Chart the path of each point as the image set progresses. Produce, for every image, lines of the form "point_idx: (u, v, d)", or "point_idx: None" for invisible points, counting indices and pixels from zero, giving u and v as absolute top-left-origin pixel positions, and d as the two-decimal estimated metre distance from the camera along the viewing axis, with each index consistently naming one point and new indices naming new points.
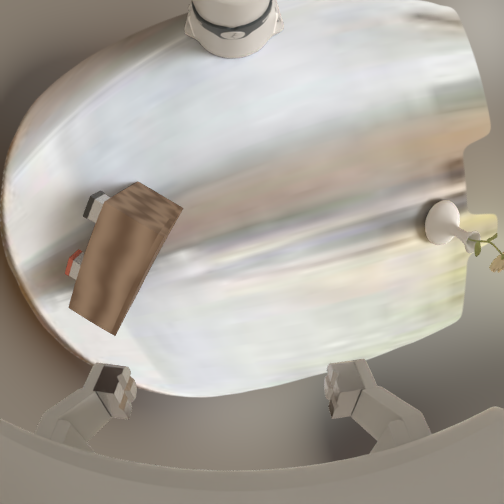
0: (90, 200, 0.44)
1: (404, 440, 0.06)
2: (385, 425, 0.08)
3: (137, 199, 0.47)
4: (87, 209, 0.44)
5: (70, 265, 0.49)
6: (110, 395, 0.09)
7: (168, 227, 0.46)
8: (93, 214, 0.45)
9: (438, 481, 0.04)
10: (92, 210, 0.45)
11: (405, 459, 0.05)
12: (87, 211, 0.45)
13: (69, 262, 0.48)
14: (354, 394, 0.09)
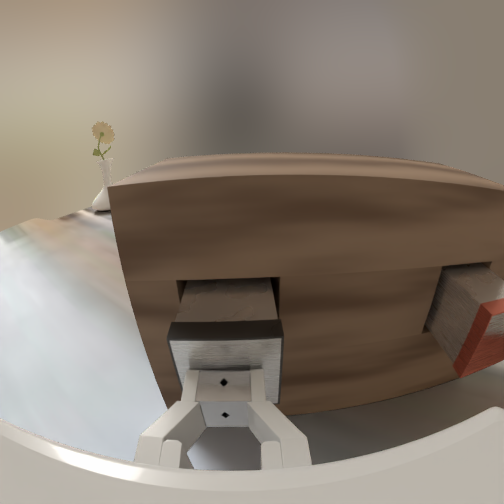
0: (186, 333, 0.10)
1: (274, 465, 0.06)
2: None
3: None
4: (237, 332, 0.10)
5: (501, 303, 0.10)
6: (216, 403, 0.09)
7: None
8: (243, 309, 0.12)
9: (438, 481, 0.04)
10: (229, 316, 0.11)
11: (405, 459, 0.05)
12: (246, 328, 0.10)
13: (499, 308, 0.10)
14: (241, 405, 0.09)
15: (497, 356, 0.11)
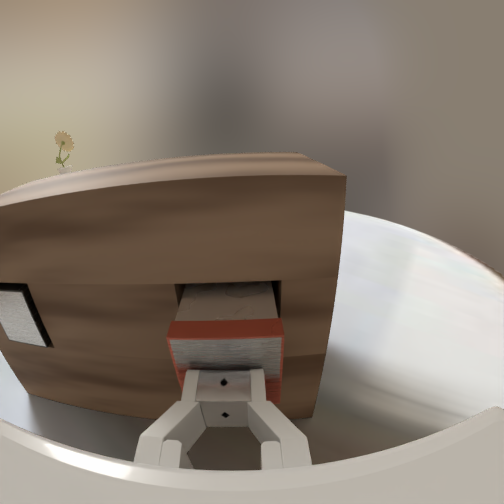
0: None
1: (274, 465, 0.06)
2: None
3: None
4: (8, 287, 0.12)
5: (213, 327, 0.10)
6: (216, 403, 0.09)
7: None
8: None
9: (438, 481, 0.04)
10: None
11: (405, 459, 0.05)
12: (14, 285, 0.13)
13: (194, 331, 0.10)
14: (241, 405, 0.09)
15: None
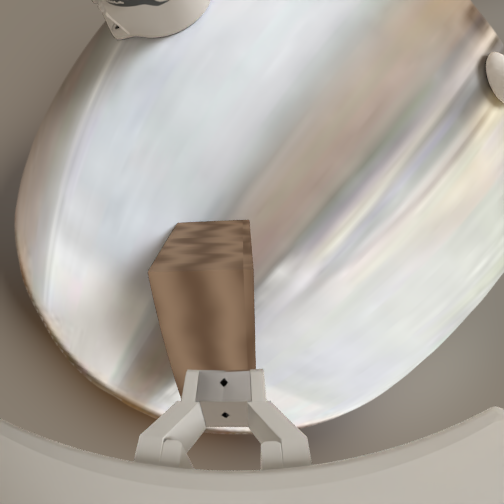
0: None
1: (274, 465, 0.06)
2: None
3: (189, 243, 0.36)
4: None
5: None
6: (216, 403, 0.09)
7: (249, 252, 0.33)
8: None
9: (438, 481, 0.04)
10: None
11: (405, 459, 0.05)
12: None
13: None
14: (241, 405, 0.09)
15: None
